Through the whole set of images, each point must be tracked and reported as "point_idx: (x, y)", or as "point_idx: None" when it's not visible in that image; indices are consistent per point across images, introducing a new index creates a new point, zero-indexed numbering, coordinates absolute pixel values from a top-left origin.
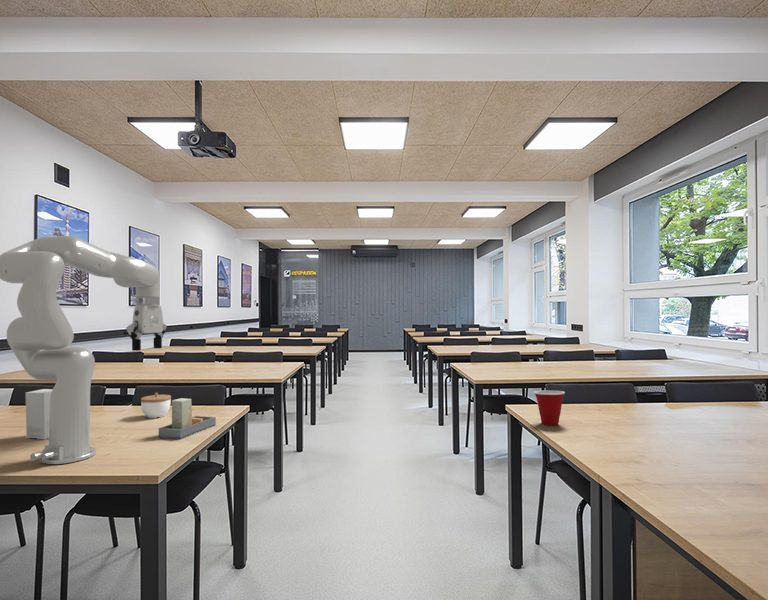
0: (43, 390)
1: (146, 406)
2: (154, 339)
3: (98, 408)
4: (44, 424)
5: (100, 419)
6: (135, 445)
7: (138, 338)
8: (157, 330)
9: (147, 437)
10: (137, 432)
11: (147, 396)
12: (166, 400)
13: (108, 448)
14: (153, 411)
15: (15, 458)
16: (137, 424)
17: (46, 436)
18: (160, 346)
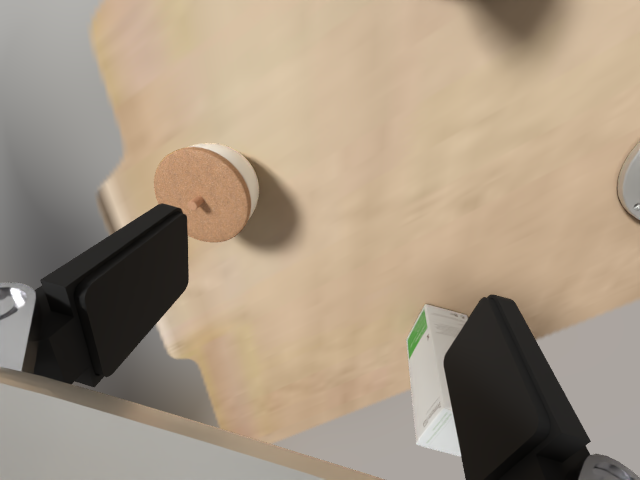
0: (455, 437)
1: (255, 200)
2: (121, 351)
3: (189, 347)
4: None
5: (281, 297)
6: (615, 19)
7: (591, 469)
8: (62, 476)
9: (501, 41)
10: (423, 123)
11: (201, 232)
12: (207, 150)
13: (622, 103)
14: (254, 172)
15: (633, 288)
16: (325, 179)
17: (464, 317)
18: (168, 217)
